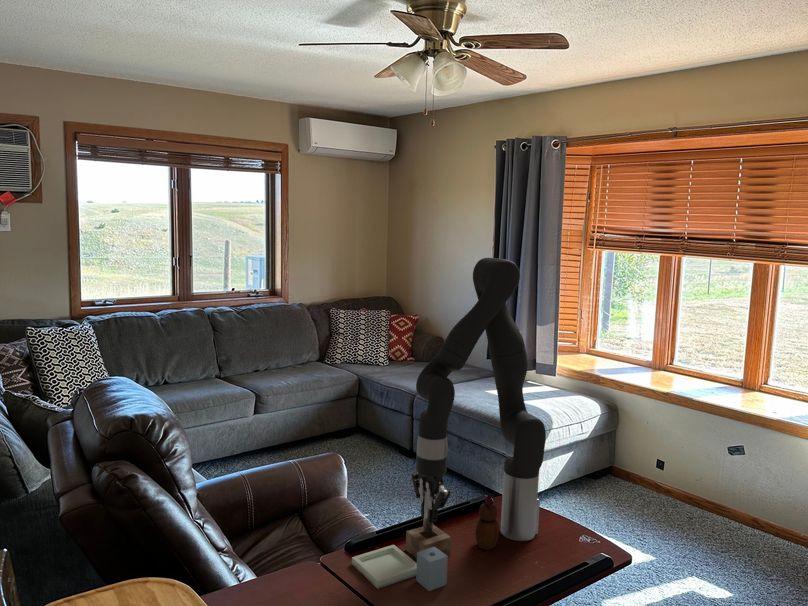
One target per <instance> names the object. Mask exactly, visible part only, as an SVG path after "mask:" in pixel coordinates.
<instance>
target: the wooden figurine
mask: <svg viewBox="0 0 808 606" xmlns="http://www.w3.org/2000/svg"><path fill="white" fill-rule="evenodd" d="M478 515H479V518H478V519H477V521H476V524H475V525H476V527H475V540H476V541H475V542H476V544H477V546H478V547H479V548H480V549H481V550H484V551H485V550H486V551H489V550H490V551H491V550H492V549H494V548H495V547H496V545H497V542H498V539H499V522H498V520H497V516H498V509H497V506H496V505H495V504H493V494H491V493H490V492H489V493H488V495H487V496H486V497H485V501H484V503H482V504H481V505H480V506H479V510H478Z"/></svg>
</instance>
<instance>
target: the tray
mask: <svg viewBox="0 0 808 606" xmlns="http://www.w3.org/2000/svg"><path fill="white" fill-rule="evenodd" d="M351 565H352V566H353V567H354V568H355V569H356V570H357V571H358V572H359V573H360V574H361V575H363V577H365V578H366V579H367V581H369V582H370V583H371V584H372V585H373V587H375V588H376V589H377V590H379V589H381V588H382V589H383V588H384V587H388V586H390V585H394V584H396V583H399V582H402V581H405V580H409V579H411V578H414V577H416V571H417V561H414V560H413V559H412V557H410V556H409V555H407V554H406V553H405V552H404V551H402V550H401V549H400V548H399V547H397V546H396V545H395V544H391V545H388V546H384V547H382V548H378V549H375V550H372V551H369V552H365V553H362V554H358V555H355V556H353V557H351Z"/></svg>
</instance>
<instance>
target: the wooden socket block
mask: <svg viewBox="0 0 808 606" xmlns="http://www.w3.org/2000/svg"><path fill="white" fill-rule="evenodd" d="M405 535H406V537H405V551H406V552H408V553H409V554H410V555H411V556H413V557H414V558H415V559H416V560H417V552H419V551H422V550H426V549H429V548H432V547H436V548H437V549H439V550H440V551H441V552H443V553H444V554H445V555H447V556H448V557H450V556H451V546H452V545H451V544H452V537H451V535H449V534H448V533H446V532H445V531H443V530H441V529H440V528H439V527H438V526H436V525H435V524H433V530H432V531H430V532H427V531H424V530H423V526H419V527H416V528H412V529H410V530H406V532H405Z"/></svg>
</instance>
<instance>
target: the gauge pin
mask: <svg viewBox="0 0 808 606" xmlns="http://www.w3.org/2000/svg"><path fill="white" fill-rule="evenodd" d="M434 495H435V494H434ZM431 496H432V495H431ZM433 503H435V500H433ZM428 511H429V500H428V499H427V492H426V491H425V501H424V518H423V523H422V527H423V530H424V531H427V532H430V531H432V530H433V525H434V523H429V522H428Z"/></svg>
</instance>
